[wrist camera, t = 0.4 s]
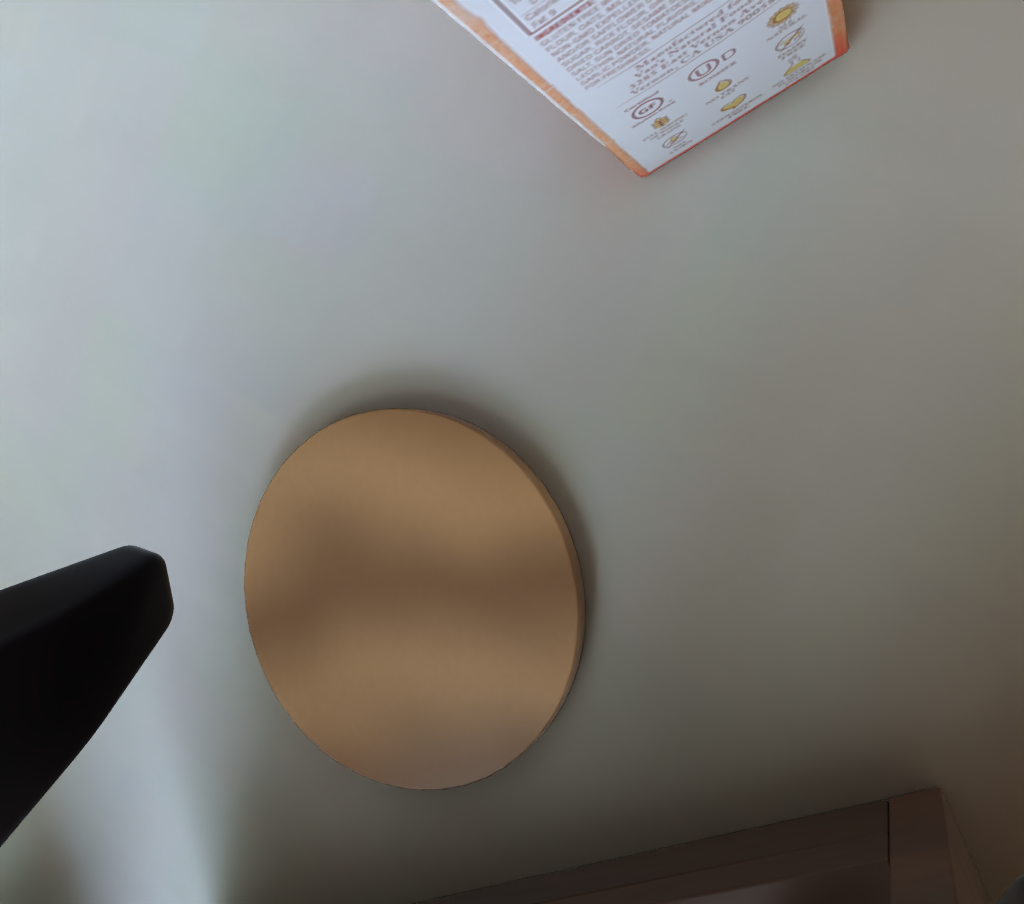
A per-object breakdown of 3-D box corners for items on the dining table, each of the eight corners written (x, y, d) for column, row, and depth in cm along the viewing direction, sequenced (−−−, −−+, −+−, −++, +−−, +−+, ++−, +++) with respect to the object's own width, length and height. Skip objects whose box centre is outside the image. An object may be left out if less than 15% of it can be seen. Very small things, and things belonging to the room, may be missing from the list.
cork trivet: (647, 728, 23) (642, 736, 22) (327, 818, 27) (315, 827, 26) (496, 345, 24) (487, 343, 23) (212, 488, 28) (198, 490, 28)
